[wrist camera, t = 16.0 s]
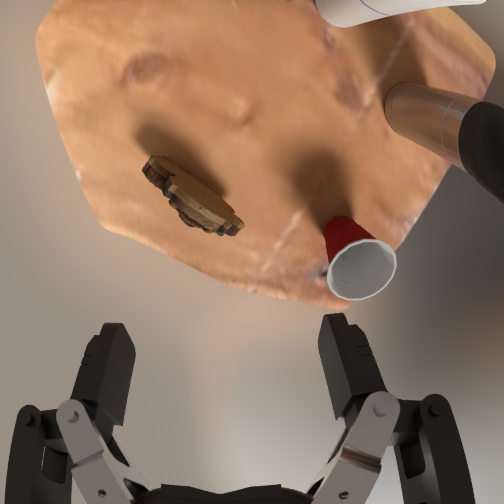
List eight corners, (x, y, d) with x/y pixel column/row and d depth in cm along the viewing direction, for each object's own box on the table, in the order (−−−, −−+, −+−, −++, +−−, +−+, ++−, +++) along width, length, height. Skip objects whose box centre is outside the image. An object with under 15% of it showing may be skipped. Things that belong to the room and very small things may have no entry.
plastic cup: (337, 189, 43) (367, 227, 34) (378, 222, 47) (409, 263, 38) (296, 237, 48) (312, 285, 38) (338, 264, 52) (359, 310, 42)
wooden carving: (144, 170, 39) (122, 198, 31) (159, 145, 37) (139, 167, 29) (232, 224, 46) (233, 261, 38) (249, 203, 44) (254, 237, 36)
